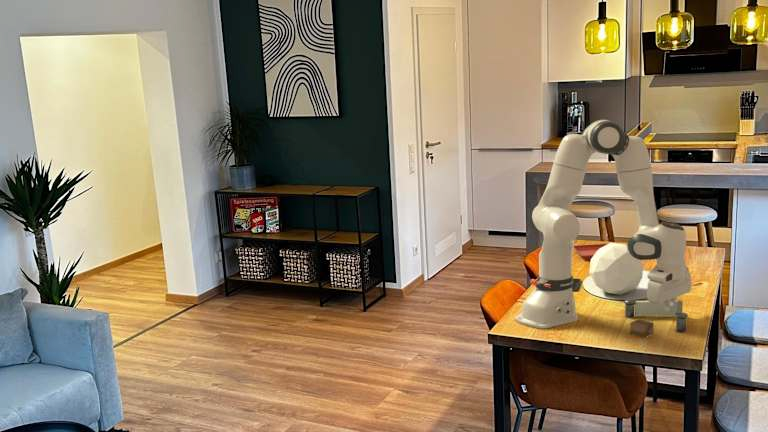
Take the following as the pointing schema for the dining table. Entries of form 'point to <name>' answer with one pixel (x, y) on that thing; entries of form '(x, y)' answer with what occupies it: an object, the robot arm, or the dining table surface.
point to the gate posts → (680, 316)
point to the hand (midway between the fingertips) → (669, 310)
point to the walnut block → (641, 328)
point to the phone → (576, 284)
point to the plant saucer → (588, 250)
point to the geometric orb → (615, 269)
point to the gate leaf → (656, 309)
